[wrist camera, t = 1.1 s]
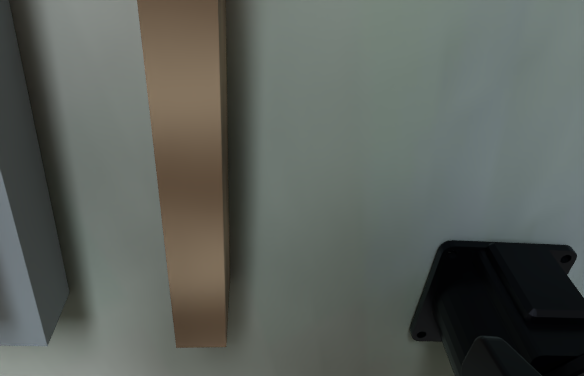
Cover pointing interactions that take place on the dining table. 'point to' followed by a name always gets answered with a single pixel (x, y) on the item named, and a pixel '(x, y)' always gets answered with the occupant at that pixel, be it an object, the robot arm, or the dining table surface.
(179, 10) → the scraper bar
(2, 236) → the platform
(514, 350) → the robot arm
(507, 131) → the dining table surface
